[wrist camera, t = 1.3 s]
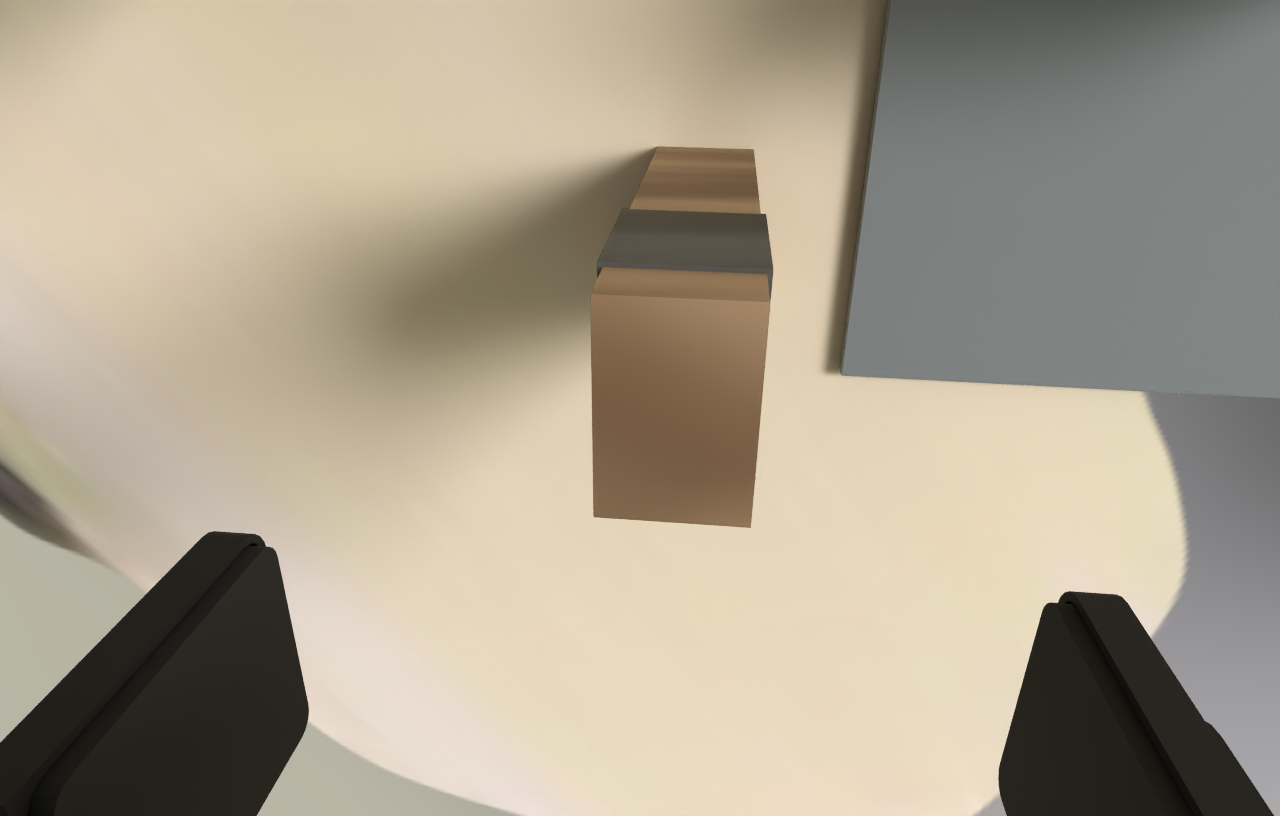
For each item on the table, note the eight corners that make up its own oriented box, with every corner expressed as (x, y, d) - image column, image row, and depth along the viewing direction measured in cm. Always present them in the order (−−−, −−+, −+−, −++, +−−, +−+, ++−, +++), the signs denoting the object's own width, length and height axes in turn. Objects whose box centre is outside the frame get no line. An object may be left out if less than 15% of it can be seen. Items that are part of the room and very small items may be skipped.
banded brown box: (654, 143, 27) (584, 288, 14) (757, 146, 26) (776, 297, 14) (651, 286, 29) (588, 521, 16) (746, 290, 29) (755, 532, 16)
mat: (913, -191, 22) (917, -195, 22) (1577, -192, 21) (1599, -196, 20) (840, 368, 29) (841, 375, 29) (1329, 393, 28) (1341, 401, 28)
